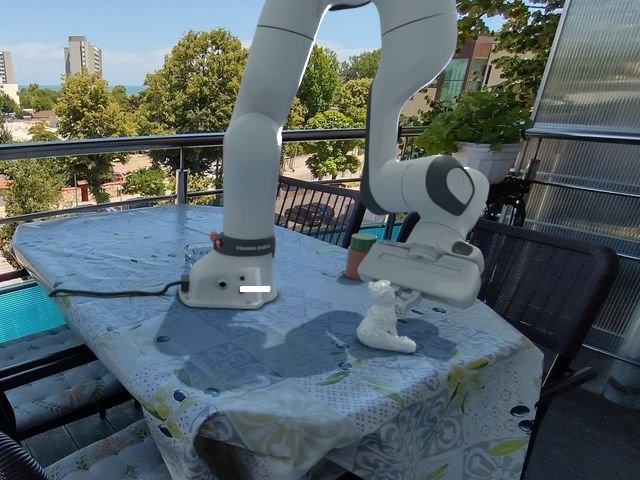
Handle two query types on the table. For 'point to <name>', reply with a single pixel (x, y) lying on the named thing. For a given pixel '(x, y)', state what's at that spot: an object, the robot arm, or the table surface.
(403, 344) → the white creature statuette
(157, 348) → the table surface
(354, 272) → the brown jar green lid
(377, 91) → the robot arm
